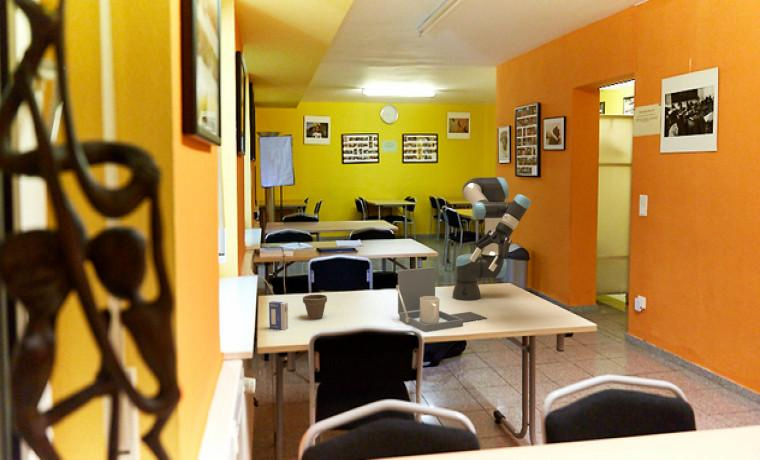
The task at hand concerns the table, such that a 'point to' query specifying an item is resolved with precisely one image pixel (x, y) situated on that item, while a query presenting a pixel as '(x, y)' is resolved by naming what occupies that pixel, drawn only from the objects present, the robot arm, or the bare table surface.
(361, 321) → the table surface
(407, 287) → the equipment case
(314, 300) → the flower pot
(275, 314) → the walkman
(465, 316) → the rubber mat
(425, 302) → the mug
